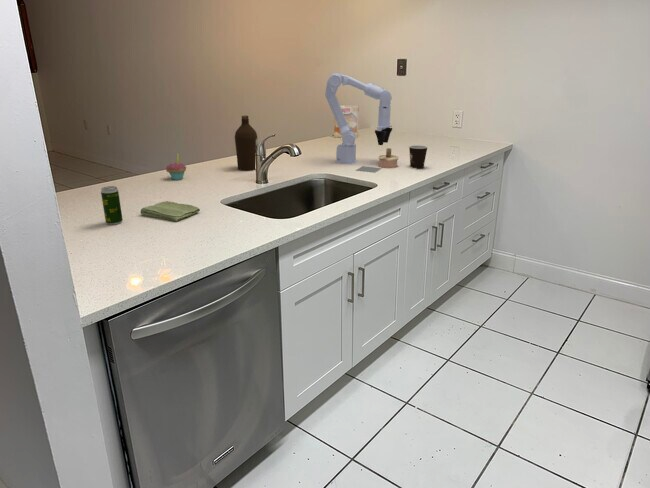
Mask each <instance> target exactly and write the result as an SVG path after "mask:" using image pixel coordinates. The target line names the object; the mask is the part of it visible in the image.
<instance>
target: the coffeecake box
mask: <svg viewBox="0 0 650 488" xmlns="http://www.w3.org/2000/svg"><path fill="white" fill-rule="evenodd" d="M340 107H341V109H342V111H343V114H344V116H345V118H346V120H347V123H348V125H349V127H350V129H351V130H352V131H353V132H354V133H355V139H357V138H358V137H359V117H360V115H359V112H360V107H359V105H340ZM333 118H334V120H333V121H334V126H333V127H334V128H333V130H334V131H333V132H334V133H333V135H334V136H333V137H334V138H342V134H341V131H340V128H339V126H338V123H337V121H336V119H335V117H333Z"/></svg>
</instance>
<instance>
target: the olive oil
mask: <svg viewBox="0 0 650 488" xmlns="http://www.w3.org/2000/svg"><path fill="white" fill-rule="evenodd" d="M234 144H235V145H234V146H235V151H236V152H235V154H236V162H237V170H239V171H244V172H245V171H246V172H249V171H255V148H256V145H257V146H258V134H257V131H256V129H254V127H252V126H251V124H250V119H249V115H247V114H244V115H241V124H240V125H239V127H238V128H237V129H236V130H235V133H234Z"/></svg>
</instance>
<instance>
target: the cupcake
mask: <svg viewBox="0 0 650 488" xmlns="http://www.w3.org/2000/svg"><path fill="white" fill-rule="evenodd" d="M179 154H180V153H179V152H177V154H176V155H177V156H176V157H177V158H176V162H172V163H169V164H168V165H167V166H166V169H165V171H166V172H167V173H169V175H170V178H171V179H172V180H175V181H176V180H177V181H178V180H183V178H184V175H185V172H186V171H187V167H186V165H185V164H184V163H181V162H179V159H180V158H179V157H180V155H179Z"/></svg>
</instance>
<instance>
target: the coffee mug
mask: <svg viewBox="0 0 650 488" xmlns="http://www.w3.org/2000/svg"><path fill="white" fill-rule="evenodd" d="M408 149H409V166H410V168H412V169H416V170H422V169H424V167H425V163H426V162H425V161H426V156H427V151H428V146H426V145H421V144H420V145H415V144H414V145H410V146H408Z"/></svg>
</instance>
